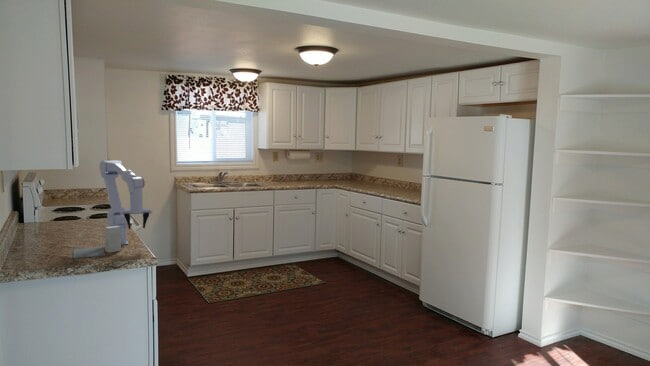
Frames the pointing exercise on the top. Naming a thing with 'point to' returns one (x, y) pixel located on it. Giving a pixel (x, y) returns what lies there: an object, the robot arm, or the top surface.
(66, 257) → the top surface
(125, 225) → the robot arm
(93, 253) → the mat
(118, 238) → the skincare box
